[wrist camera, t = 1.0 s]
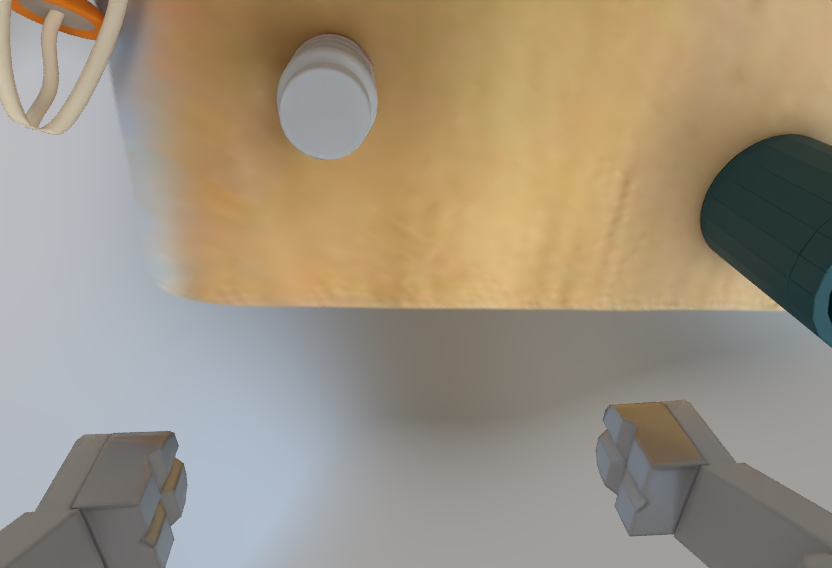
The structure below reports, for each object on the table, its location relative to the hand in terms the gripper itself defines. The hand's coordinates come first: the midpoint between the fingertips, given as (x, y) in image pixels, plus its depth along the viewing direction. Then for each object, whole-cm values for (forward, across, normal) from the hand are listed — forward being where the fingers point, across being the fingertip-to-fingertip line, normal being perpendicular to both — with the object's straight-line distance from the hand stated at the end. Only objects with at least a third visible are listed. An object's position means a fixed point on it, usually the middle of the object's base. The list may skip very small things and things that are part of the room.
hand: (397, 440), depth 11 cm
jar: (+26, -27, +6) cm, 38 cm away
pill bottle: (+26, +2, -2) cm, 26 cm away
